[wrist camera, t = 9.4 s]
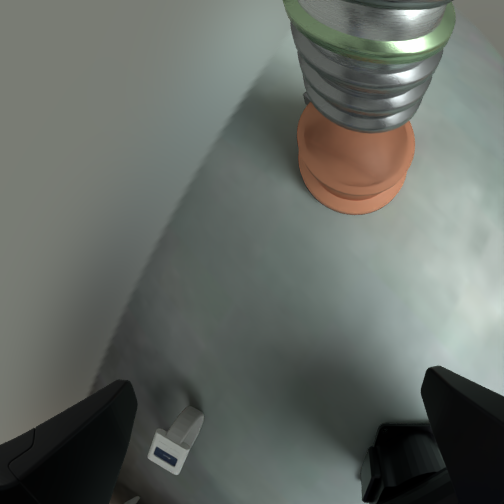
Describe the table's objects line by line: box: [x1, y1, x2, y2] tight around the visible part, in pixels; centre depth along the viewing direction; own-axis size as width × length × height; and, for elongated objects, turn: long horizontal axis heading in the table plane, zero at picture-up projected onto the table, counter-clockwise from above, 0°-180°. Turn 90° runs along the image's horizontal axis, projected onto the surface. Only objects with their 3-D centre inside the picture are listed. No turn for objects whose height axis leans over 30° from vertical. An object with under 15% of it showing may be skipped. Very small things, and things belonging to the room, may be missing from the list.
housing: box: [297, 92, 415, 215], centre depth 18 cm, size 8×8×5 cm
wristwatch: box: [148, 406, 204, 475], centre depth 21 cm, size 6×3×5 cm, turn 158°
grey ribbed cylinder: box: [283, 0, 455, 134], centre depth 7 cm, size 5×5×8 cm
